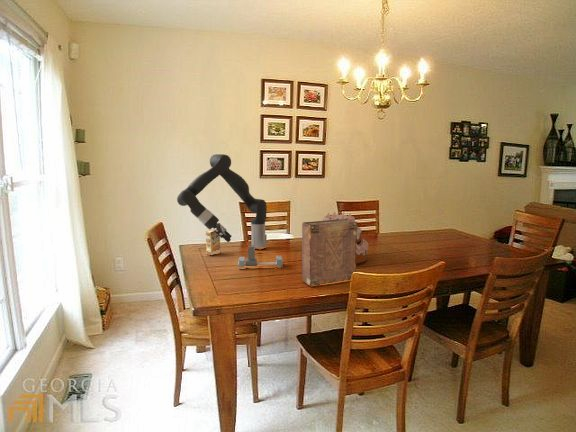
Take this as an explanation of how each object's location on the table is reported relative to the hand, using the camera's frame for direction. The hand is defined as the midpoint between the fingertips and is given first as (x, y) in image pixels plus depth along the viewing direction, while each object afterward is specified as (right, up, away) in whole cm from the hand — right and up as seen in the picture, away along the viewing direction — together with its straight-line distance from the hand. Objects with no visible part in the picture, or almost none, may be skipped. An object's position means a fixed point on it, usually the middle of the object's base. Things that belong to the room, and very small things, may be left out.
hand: (230, 239), depth 202 cm
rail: (+16, -16, +4) cm, 23 cm away
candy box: (-15, -12, +31) cm, 36 cm away
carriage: (+11, -15, +4) cm, 19 cm away
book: (+52, -20, -19) cm, 59 cm away
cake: (+62, -13, +21) cm, 67 cm away
